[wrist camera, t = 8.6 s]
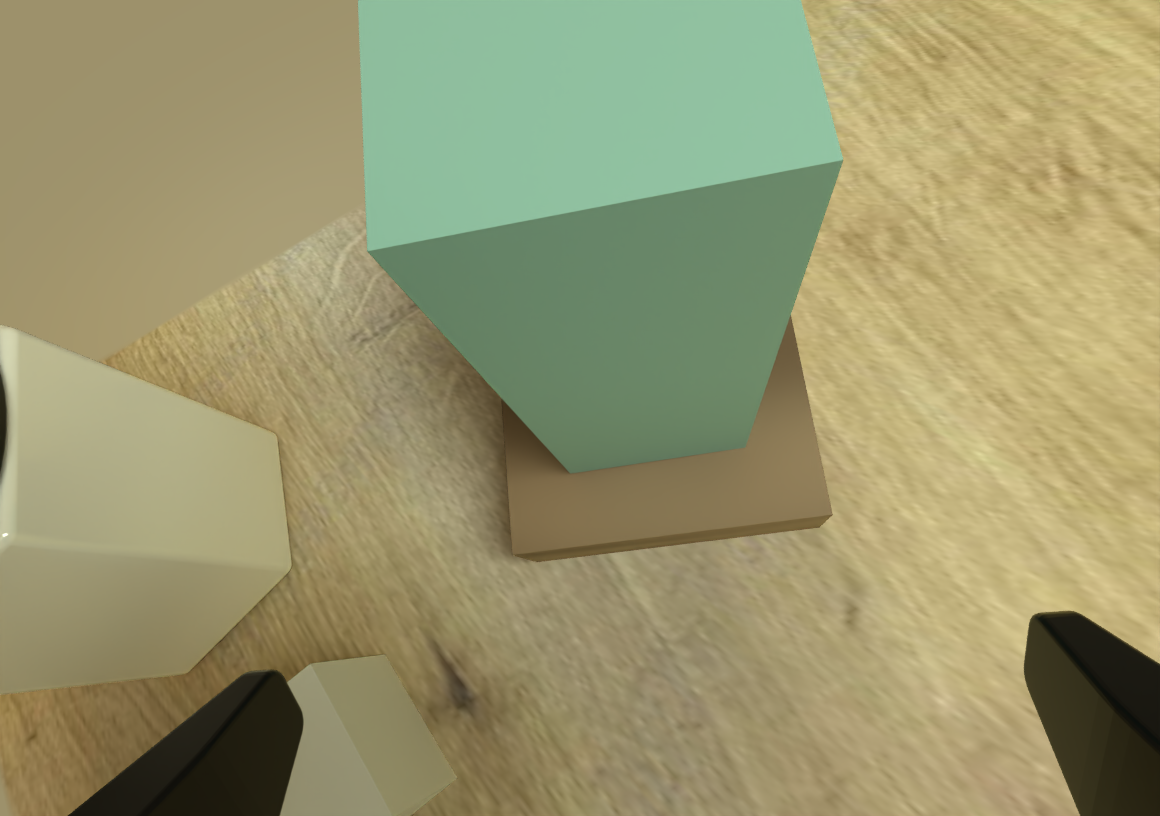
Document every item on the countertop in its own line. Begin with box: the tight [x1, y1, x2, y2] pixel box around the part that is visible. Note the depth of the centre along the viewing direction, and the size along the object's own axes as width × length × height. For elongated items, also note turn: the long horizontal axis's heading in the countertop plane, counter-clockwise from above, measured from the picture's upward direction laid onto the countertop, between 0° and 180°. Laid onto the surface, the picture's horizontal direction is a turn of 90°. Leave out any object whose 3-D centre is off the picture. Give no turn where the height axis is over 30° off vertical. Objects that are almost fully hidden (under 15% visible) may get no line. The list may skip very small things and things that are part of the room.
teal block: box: [358, 0, 843, 474], centre depth 13 cm, size 4×4×12 cm
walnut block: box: [501, 315, 833, 562], centre depth 20 cm, size 8×8×3 cm
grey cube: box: [280, 654, 457, 816], centre depth 18 cm, size 4×4×4 cm
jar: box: [0, 325, 292, 695], centre depth 17 cm, size 9×8×12 cm
